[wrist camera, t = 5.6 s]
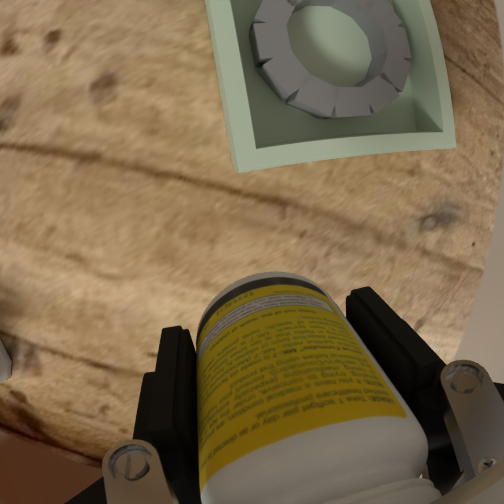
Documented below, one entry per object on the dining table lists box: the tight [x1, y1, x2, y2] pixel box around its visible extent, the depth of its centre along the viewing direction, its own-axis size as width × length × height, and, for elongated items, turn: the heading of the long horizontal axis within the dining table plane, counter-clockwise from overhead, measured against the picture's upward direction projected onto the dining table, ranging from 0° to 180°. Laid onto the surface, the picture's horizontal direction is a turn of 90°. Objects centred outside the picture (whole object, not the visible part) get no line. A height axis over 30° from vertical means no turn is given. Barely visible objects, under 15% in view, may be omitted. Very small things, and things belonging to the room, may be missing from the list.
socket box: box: [205, 0, 456, 173], centre depth 18 cm, size 16×16×4 cm
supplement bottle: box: [196, 272, 442, 504], centre depth 7 cm, size 5×5×8 cm
